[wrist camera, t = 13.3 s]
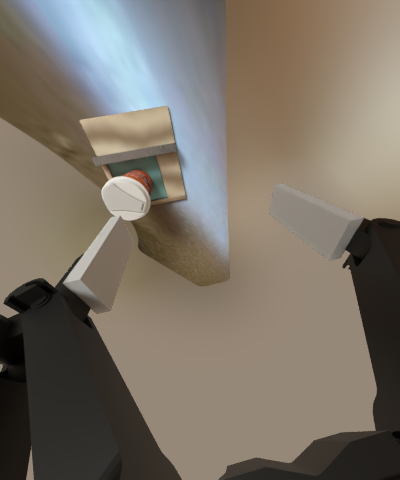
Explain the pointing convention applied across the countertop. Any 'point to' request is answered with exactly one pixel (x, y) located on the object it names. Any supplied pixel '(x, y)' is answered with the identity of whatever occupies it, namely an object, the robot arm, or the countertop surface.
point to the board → (135, 137)
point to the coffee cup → (128, 195)
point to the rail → (134, 154)
